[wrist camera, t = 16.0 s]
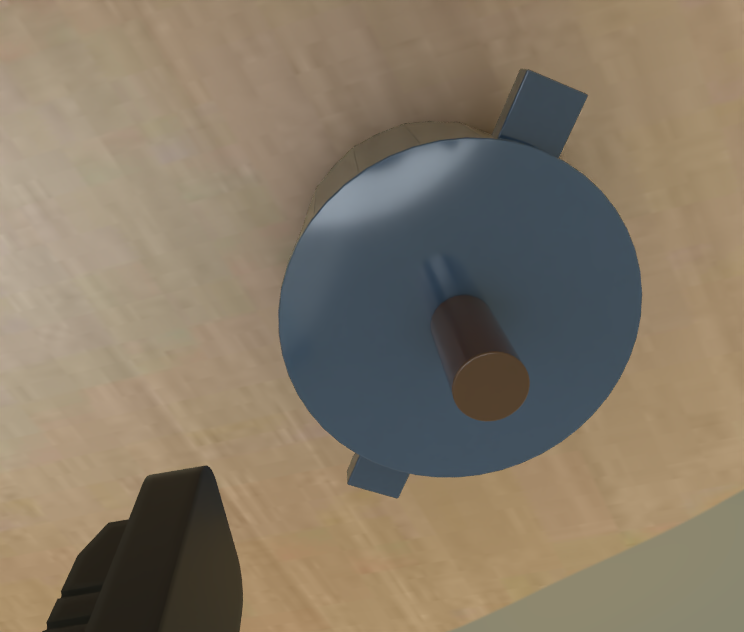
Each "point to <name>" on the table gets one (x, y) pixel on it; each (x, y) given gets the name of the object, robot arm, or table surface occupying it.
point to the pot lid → (459, 306)
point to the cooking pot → (516, 122)
